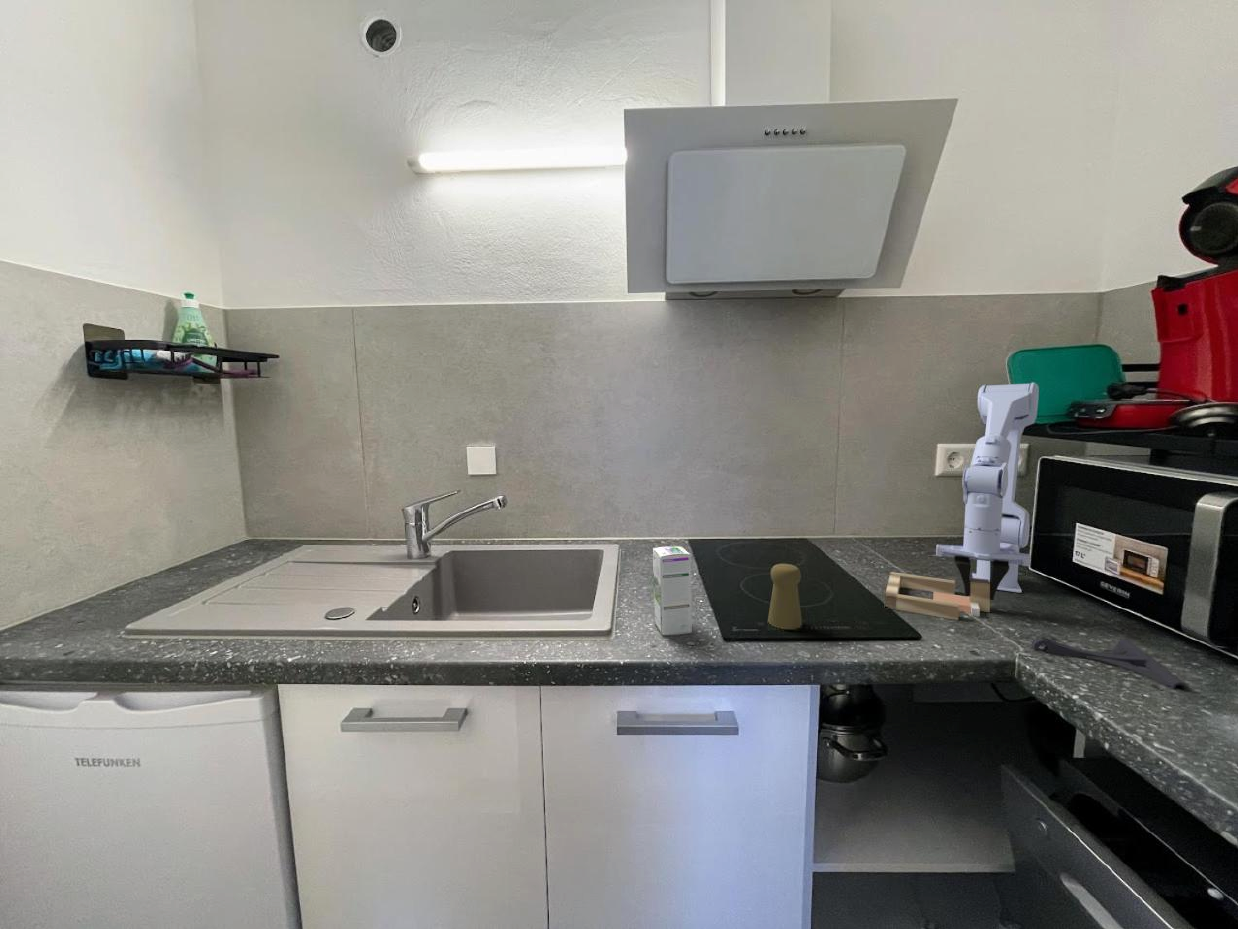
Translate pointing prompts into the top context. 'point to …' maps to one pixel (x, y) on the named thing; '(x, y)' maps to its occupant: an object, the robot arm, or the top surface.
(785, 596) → the cork
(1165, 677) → the bracket
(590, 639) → the top surface
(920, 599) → the tile rest
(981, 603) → the wood block with post
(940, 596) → the terracotta tile
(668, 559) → the syrup box
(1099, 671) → the top surface
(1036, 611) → the top surface
